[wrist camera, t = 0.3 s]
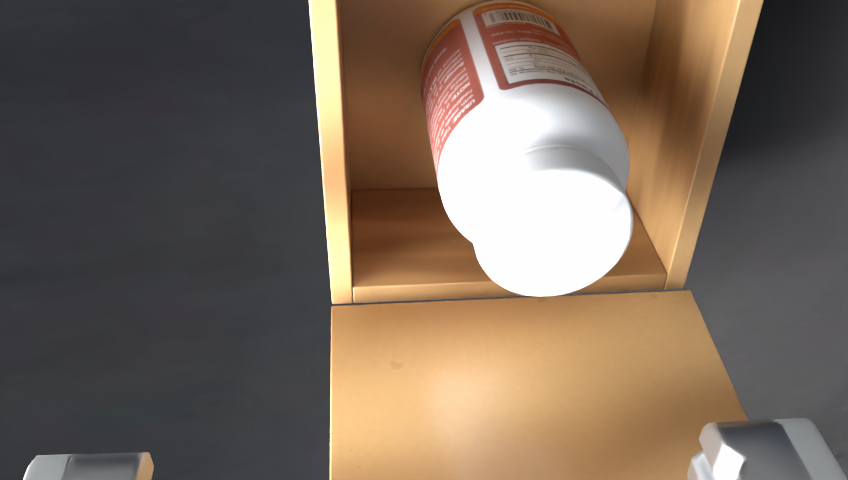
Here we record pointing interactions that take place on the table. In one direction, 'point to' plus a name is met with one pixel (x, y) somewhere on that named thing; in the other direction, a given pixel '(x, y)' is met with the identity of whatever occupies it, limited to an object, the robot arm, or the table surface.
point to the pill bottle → (525, 149)
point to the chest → (413, 160)
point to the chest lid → (524, 388)
